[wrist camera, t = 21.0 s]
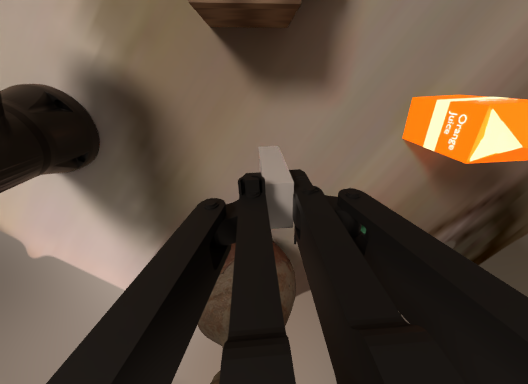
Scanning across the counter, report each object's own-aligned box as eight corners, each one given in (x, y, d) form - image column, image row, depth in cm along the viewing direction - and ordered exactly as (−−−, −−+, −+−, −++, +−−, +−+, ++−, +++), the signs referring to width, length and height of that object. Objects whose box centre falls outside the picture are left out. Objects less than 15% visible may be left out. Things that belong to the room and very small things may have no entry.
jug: (198, 273, 58) (150, 438, 31) (208, 206, 48) (150, 361, 22) (276, 284, 61) (292, 442, 34) (299, 223, 51) (347, 377, 25)
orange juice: (445, 136, 43) (580, 176, 25) (401, 139, 43) (505, 180, 25) (460, 93, 39) (630, 104, 21) (412, 96, 39) (542, 109, 21)
